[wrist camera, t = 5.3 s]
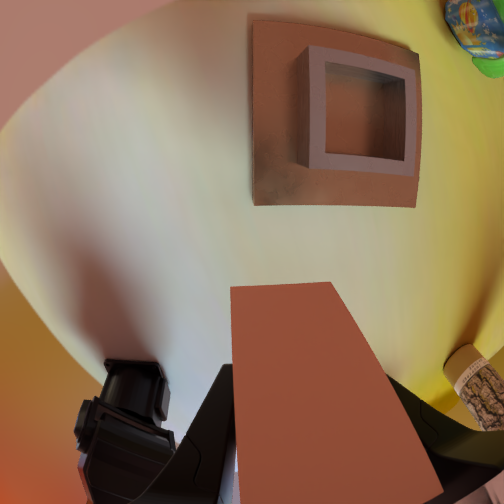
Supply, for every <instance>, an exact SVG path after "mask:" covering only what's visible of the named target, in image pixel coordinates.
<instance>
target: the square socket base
mask: <svg viewBox="0 0 504 504" xmlns="http://www.w3.org/2000/svg"><path fill="white" fill-rule="evenodd" d="M252 84H253V204H254V206H263V205H354V206H388V207H411V208H415V207H416V199H417V191H418V182H419V171H420V158H421V139H422V93H421V75H420V63H419V54H418V53H415V52H412V51H410V50H407V49H404V48H401V47H398V46H395V45H392V44H389V43H386V42H383V41H379V40H376V39H372V38H369V37H365V36H361V35H357V34H353V33H349V32H344V31H339V30H334V29H329V28H324V27H318V26H311V25H304V24H296V23H287V22H275V21H258V20H253V24H252Z"/></svg>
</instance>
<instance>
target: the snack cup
mask: <svg viewBox="0 0 504 504" xmlns="http://www.w3.org/2000/svg"><path fill="white" fill-rule="evenodd" d="M445 10H446V14H445V20H446V21H447V22H448V23H449V25H450V27H451V30H452V32H453V34H454V35H455V37H456V39H457V40H458V41H459V43H460V45H461V47H462V48H463V49H464V50H466V51H468V52H469V53H470V54H471V55H473V56H475V57H472V61H473V64H474V65H475V66H476V67H477V68H478V69H479V70H480V71H481V72H482V73H483V74H484V75H486V76H487V77H490V78H499V77H503V76H504V0H449V1H448V2H446V7H445Z"/></svg>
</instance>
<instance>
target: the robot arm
mask: <svg viewBox="0 0 504 504" xmlns="http://www.w3.org/2000/svg"><path fill="white" fill-rule="evenodd" d="M104 366H105V368H106V370H107V372H108V375H107V378H106V381H105V383H104V386H103V389H102V392H101V394H100V397H99V398H98V397H96V396H94V398H93V400H84V401H83V403H82V405H81V408H80V411H79V414H78V417H77V420H76V424H75V428H74V434H75V436H76V437H77V438H76V442H77V445H76V449H77V450H78V451H80V452H81V455H80V459H79V463H78V471H79V475H80V478H81V480H82V484H83V487H84V489H85V492H86V495H87V503H86V504H232V494H233V481H234V470H235V457H236V427H235V408H234V386H233V364H223V365H222V367H221V369H220V371H219V373H218V375H217V377H216V379H215V380H214V382H213V384H212V386H211V388H210V390H209V392H208V394H207V396H206V397H205V399H204V401H203V403H202V405H201V407H200V409H199V410H198V412H197V414H196V416H195V418H194V420H193V422H192V423H191V425H190V427H189V429H188V431H187V432H186V435H185V436H184V438H183V439H182V441H181V443H180V445H179V447H178V448H177V450H176V447H175V440H174V432H173V431H170V430H165V429H163V428H161V422H162V421H166V420H167V415H168V407H169V400H170V390H169V387H168V384H167V381H166V379H165V378H163V375H162V372H161V369H160V366H159V364H158V363H155V362H137V361H122V360H109V359H106V360H105V361H104ZM385 374H386V373H385ZM386 376H387V378H388V379H389V381H390V383H391V385H392V387H393V388H394V390H395V392H396V394H397V396H398V398H399V400H400V401H401V403H402V405H403V407H404V409H405V411H406V413H407V415H408V417H409V419H410V421H411V423H412V425H413V427H414V429H415V431H416V433H417V435H418V437H419V439H420V441H421V443H422V445H423V447H424V449H425V451H426V453H427V455H428V457H429V459H430V462H431V464H432V466H433V468H434V470H435V472H436V475H437V477H438V479H439V481H440V484H441V486H442V488H443V491H444V492H443V493H441V494H440V495H438V496H436V497H435V498H433V499H431V500H430V501H428V502H426V503H424V504H504V430H496V431H476V430H472V429H470V428H468V427H466V426H464V425H462V424H460V423H458V422H456V421H455V420H453V419H451V418H449V417H448V416H446V415H444V414H442V413H441V412H439V411H437V410H436V409H435V408H433V407H432V406H430V405H429V404H427V403H426V402H424V401H423V400H420V398H419V397H417V396H416V395H415V394H413V393H412V392H411V391H409V390H408V389H406V388H405V387H404V386H402V385H401V384H400V383H398V382H397V381H395V380H394V379H393V378H391V377H390V376H389V375H387V374H386Z"/></svg>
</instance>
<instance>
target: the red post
mask: <svg viewBox="0 0 504 504" xmlns="http://www.w3.org/2000/svg"><path fill="white" fill-rule="evenodd" d="M230 295H231V332H232V361H233V386H234V408H235V427H236V445H237V461H238V476H239V490H240V503H241V504H424V503H426V502H428V501H430V500H431V499H433V498H435V497H436V496H438V495H440V494H441V493H443V492H444V491H443V488H442V486H441V484H440V481H439V479H438V477H437V475H436V472H435V470H434V468H433V466H432V464H431V462H430V459H429V457H428V455H427V453H426V451H425V449H424V447H423V445H422V443H421V441H420V439H419V437H418V435H417V433H416V431H415V429H414V427H413V425H412V423H411V421H410V419H409V417H408V415H407V413H406V411H405V409H404V407H403V405H402V403H401V401H400V400H399V398H398V396H397V394H396V392H395V390H394V388H393V387H392V385H391V383H390V381H389V379H388V378H387V376H386V374H385V372H384V370H383V369H382V367H381V365H380V363H379V361H378V360H377V358H376V356H375V354H374V353H373V351H372V349H371V348H370V346H369V344H368V342H367V341H366V339H365V337H364V336H363V334H362V332H361V330H360V329H359V327H358V325H357V324H356V322H355V320H354V319H353V317H352V315H351V314H350V312H349V311H348V309H347V307H346V306H345V304H344V302H343V301H342V299H341V298H340V296H339V294H338V293H337V291H336V290H335V288H334V286H333V285H332V283H331V282H317V283H301V284H282V285H262V286H237V287H230Z"/></svg>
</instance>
